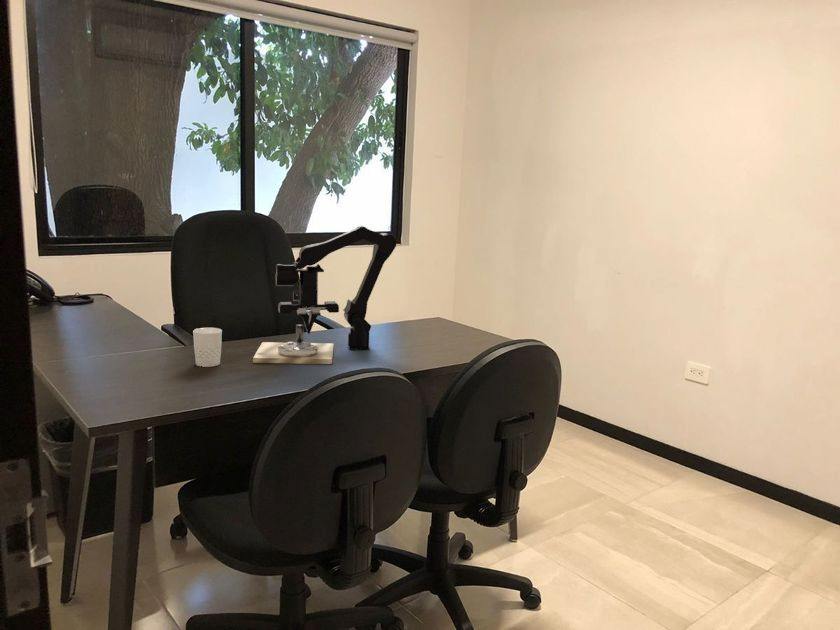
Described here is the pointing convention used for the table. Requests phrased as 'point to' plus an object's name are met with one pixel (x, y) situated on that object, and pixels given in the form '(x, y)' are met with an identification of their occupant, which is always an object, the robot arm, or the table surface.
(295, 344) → the grey metal part
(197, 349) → the white cup
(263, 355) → the base plate
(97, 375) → the table surface
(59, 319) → the table surface
